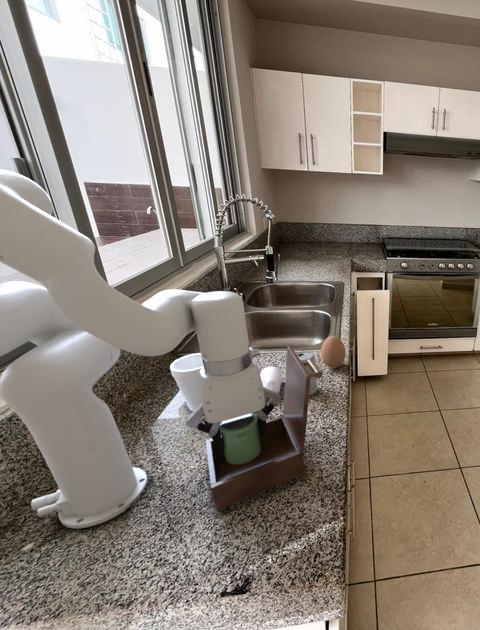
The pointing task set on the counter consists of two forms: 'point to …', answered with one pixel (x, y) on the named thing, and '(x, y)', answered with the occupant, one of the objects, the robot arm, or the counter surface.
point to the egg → (333, 352)
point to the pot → (241, 438)
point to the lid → (298, 394)
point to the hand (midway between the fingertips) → (241, 439)
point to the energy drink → (304, 357)
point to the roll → (271, 378)
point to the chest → (255, 466)
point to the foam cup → (188, 378)
